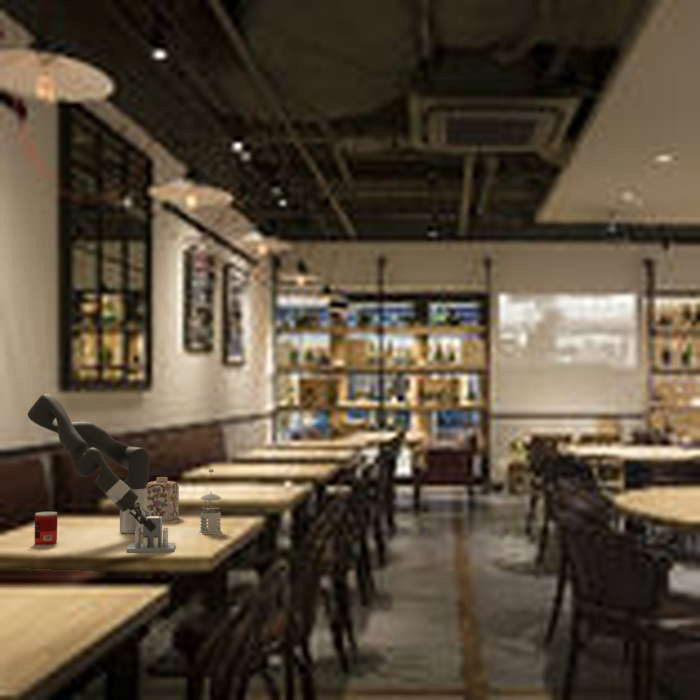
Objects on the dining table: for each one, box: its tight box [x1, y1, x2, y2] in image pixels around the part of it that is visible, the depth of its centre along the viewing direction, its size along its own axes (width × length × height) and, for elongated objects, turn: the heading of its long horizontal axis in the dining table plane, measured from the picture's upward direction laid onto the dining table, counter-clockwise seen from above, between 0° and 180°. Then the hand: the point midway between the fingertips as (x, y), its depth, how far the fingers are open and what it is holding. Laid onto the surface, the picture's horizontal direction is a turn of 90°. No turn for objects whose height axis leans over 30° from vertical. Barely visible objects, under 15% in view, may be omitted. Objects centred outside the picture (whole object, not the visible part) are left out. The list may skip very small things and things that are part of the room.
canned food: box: [34, 511, 58, 546], centre depth 348 cm, size 8×8×11 cm
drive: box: [142, 516, 163, 547], centre depth 338 cm, size 6×5×10 cm
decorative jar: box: [146, 476, 180, 522], centre depth 412 cm, size 12×12×18 cm
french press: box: [198, 468, 224, 535], centre depth 376 cm, size 10×12×25 cm
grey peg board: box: [126, 526, 176, 553], centre depth 338 cm, size 16×12×7 cm
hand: (154, 527), depth 338 cm, fingers open, 8 cm apart
